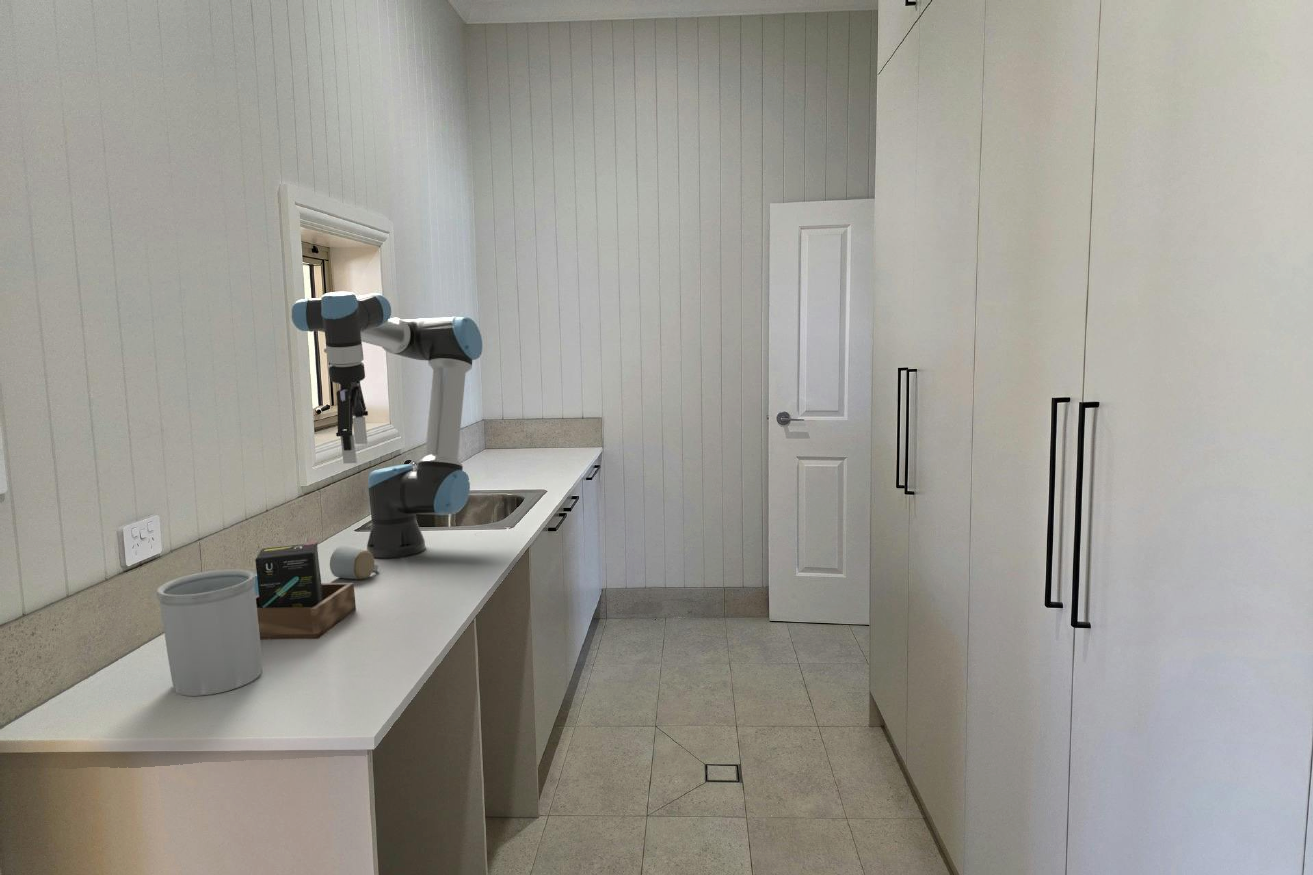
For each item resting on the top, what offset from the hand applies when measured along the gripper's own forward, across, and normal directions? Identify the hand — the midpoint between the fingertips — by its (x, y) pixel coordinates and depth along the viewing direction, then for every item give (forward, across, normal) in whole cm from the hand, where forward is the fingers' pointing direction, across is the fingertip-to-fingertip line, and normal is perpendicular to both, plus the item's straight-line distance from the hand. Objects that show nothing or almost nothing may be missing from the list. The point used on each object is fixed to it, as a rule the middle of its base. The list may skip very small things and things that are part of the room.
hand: (356, 452), depth 197 cm
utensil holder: (+20, +58, -14) cm, 64 cm away
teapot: (+30, +12, -18) cm, 37 cm away
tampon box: (+25, +31, -9) cm, 41 cm away
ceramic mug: (+33, -2, -3) cm, 33 cm away
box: (+26, +32, -8) cm, 42 cm away
